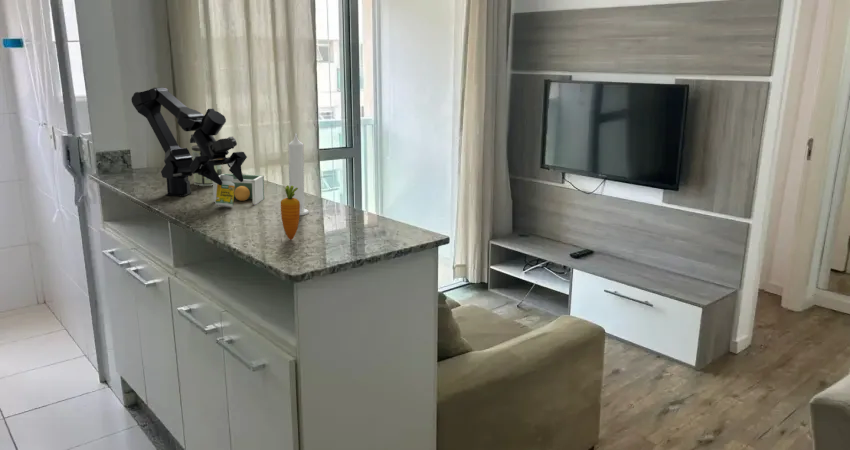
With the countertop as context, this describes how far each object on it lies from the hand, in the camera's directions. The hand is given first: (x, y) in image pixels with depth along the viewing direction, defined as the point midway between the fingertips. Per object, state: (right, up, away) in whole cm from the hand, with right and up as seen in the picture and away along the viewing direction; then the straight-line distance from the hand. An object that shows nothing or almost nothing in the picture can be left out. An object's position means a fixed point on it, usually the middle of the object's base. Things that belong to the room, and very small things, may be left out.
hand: (232, 182), depth 198 cm
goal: (-1, -5, +11) cm, 12 cm away
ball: (0, -3, +11) cm, 11 cm away
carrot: (+26, -18, -32) cm, 45 cm away
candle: (+21, -10, -3) cm, 24 cm away
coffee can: (-21, +2, +37) cm, 42 cm away
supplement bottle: (-2, -8, -1) cm, 8 cm away
